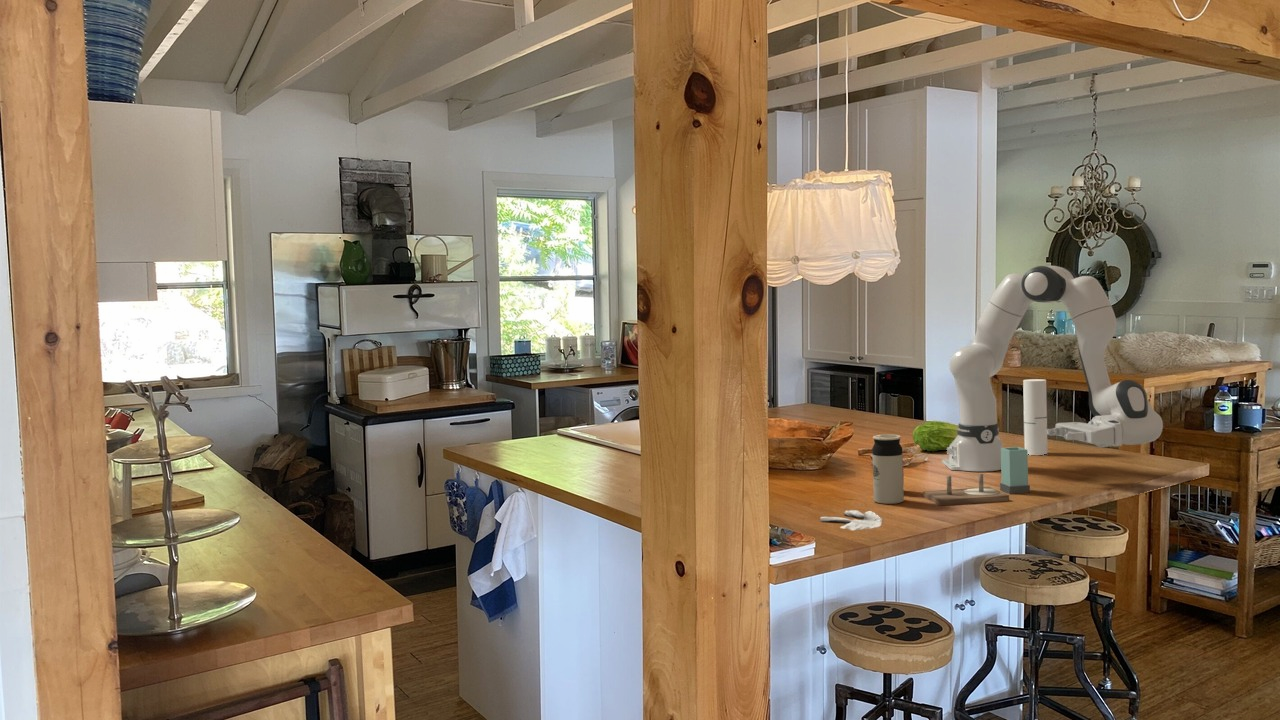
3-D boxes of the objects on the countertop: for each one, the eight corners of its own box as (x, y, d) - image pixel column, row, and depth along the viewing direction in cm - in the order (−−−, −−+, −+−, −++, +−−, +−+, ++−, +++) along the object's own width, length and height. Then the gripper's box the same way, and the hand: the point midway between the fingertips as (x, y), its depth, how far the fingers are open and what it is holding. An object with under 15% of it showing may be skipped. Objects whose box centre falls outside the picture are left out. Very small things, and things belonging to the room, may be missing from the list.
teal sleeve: (1000, 490, 279) (999, 447, 278) (1019, 488, 279) (1019, 446, 278) (1009, 494, 273) (1008, 451, 272) (1029, 492, 273) (1029, 449, 272)
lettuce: (991, 435, 344) (975, 411, 354) (929, 437, 338) (914, 412, 347) (978, 460, 351) (963, 436, 361) (918, 462, 345) (903, 437, 354)
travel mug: (901, 498, 274) (899, 433, 273) (906, 504, 266) (904, 438, 265) (872, 498, 275) (870, 434, 274) (875, 504, 267) (873, 438, 266)
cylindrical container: (1049, 455, 328) (1048, 380, 327) (1026, 455, 330) (1025, 381, 328) (1045, 452, 335) (1043, 378, 334) (1023, 452, 337) (1021, 379, 335)
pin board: (923, 496, 275) (922, 473, 274) (989, 492, 276) (988, 469, 276) (940, 505, 263) (939, 481, 262) (1009, 500, 264) (1008, 476, 264)
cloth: (856, 536, 237) (855, 526, 237) (791, 521, 255) (791, 512, 255) (911, 521, 249) (911, 512, 249) (846, 508, 267) (845, 500, 267)
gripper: (1083, 416, 287) (1037, 419, 286) (1124, 423, 267) (1075, 427, 266) (1084, 437, 288) (1038, 441, 286) (1125, 447, 267) (1076, 450, 266)
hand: (1056, 434), depth 276 cm, fingers open, 8 cm apart
